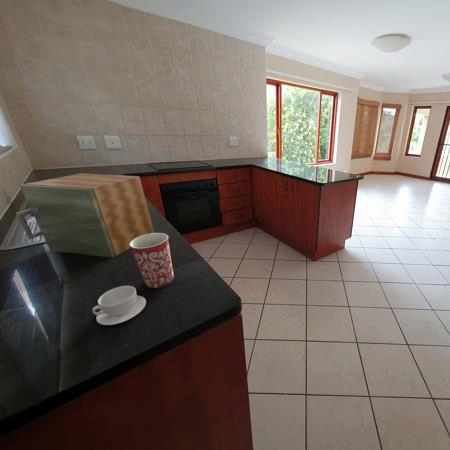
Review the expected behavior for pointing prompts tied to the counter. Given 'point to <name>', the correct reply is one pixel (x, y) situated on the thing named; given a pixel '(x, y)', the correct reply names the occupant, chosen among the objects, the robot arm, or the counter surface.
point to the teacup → (118, 305)
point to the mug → (153, 259)
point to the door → (67, 220)
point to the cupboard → (113, 204)
